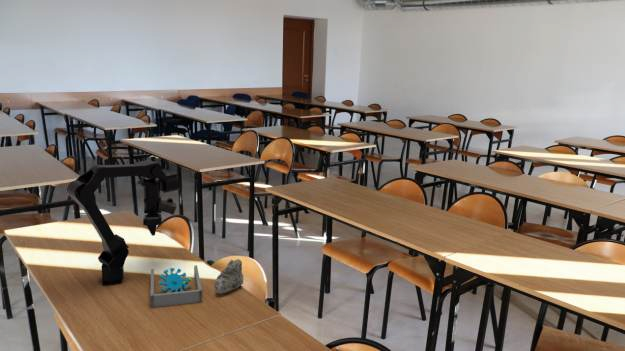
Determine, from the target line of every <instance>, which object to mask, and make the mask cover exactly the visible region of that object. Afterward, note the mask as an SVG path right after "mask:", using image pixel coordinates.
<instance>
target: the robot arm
mask: <svg viewBox="0 0 625 351" xmlns="http://www.w3.org/2000/svg"><path fill="white" fill-rule="evenodd" d="M122 177H123V178H125V177H140V179H139V180H138V181H137V185H140V186H143V189H142V190H143V213H144V216H142V217H143V218H142V222H143V224H142V225H143V226H146V227H147V229H148V231H149V233H150V235H151V236H156V232H157V231H156V230H157V227H158V226H161V225H162V224H163V223H162V222H163V221H162V220H163V217H162V213H168V214H169V215H175V212H176V209H177V208H178V205H177V204H176V202H174V199H173V197H172V198H171V197H168V198H167V199H162V196H161V192H162V193H164V194H166V193H171V192H177V191H179V190H180V189H181V185H182V184H181V182H180V179H179V177H178V174H177V173H175V172H171V173H168V174H166V173H165V172H164V171H163V167H162V165H161V164H160V163H158V162H157V161H152V160H150V159H147V160H141V161H138V162H136V163H130V164H126V163H125V164H105V165H103V164H101V165H100V164H95V165H93V166H92V167H90V168H89V170H87V171H85V172H84V173H82V174H81V175H79V176H78V177H77V178H76V179H75V180H72V181H70V182H69V183H68V184H67V188H66V192H67V195H69V196H70V198H71V199H73V201H74V202H76V204H77V205H78V206H79V207H81V208H82V209H83V211H84V213H85V215H86V217H87V218H88V220H89V221H90V223H91V225H92V226H93V228H94V230H95V232H96V233H97V235H98V236H99V238H100V239H101V246H102V249H103V250H102V252H101V253H100V254H99V256H98V257H97V260H98V261H99V263H100V264H101V268H100V269H101V279H102V280H101V285H102V286H106V285H107V286H108V285H117V284H122V283H123V280H124V278H125V271H124V269H125V268H124V266H125V262H126V259H127V257H128V255H129V253H130V252H129V248H130V246H128V245H127V242H126V241H125V238H124V237H122V236H120V235H118V234H116V233H114V232H113V230H112V228H111V227H110V225H109V223H108V222H107V220H106V219H105V217H104V215H103V213H102V212H101V210H100V208H99V206H98V205H97V198H96V195H95V194H96V193H95V192H96V191H97V190H98V189H99V187H100V186H101V183H102V182H103V181H104V179H106V178H122Z"/></svg>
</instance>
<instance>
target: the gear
mask: <svg viewBox="0 0 625 351" xmlns="http://www.w3.org/2000/svg"><path fill="white" fill-rule="evenodd" d="M169 271H170V274H169ZM174 271H175V267H171V268H169V270H168V269H165V270H164V271H163V273H164V274H163V273H162V274H160V276H159V279H161V280H159V281H158V285H159V286H162V287H161V288H160V289H161V291H162V292H165V291H166V290H168V291H167V292H166V293H172V292H173V291H174V292H178V290H179V292H182V291H185V290H187V289H188V288H189V285H188V284H189V282H191V281H192V277H188V278H186V276H187V274H186V272H183V273H182V274H180V273H181V272H182V269H181V268H177V270H176V272H174ZM165 276H166V277H165ZM182 287H183V288H182Z"/></svg>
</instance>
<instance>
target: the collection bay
mask: <svg viewBox="0 0 625 351" xmlns="http://www.w3.org/2000/svg"><path fill="white" fill-rule="evenodd" d="M193 267H194V268H193V274H194V275H193V276H194V281H195V288H196V290H195V289H194V290H184V291H182V292H180V291H177V292H175V291H174V292H173V291H172V292H171V293H167V292H163V293H155V269H154V268H151V269H150V291H149V292H150V296H149V297H150V308H158V307H168V306H170V307H171V306H178V305H188V304H195V303H203V289H202V283H201V279H200V274H199V269H198V265H197V264H196V265H194V266H193Z"/></svg>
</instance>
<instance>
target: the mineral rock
mask: <svg viewBox="0 0 625 351" xmlns="http://www.w3.org/2000/svg"><path fill="white" fill-rule="evenodd" d="M226 264H227V265H226V267H225V268H224V269H223V270H222V271H221V272H220V273H219V275H218V276H217V277H216V279H215V281H214V288H215V292H216V294H225V293H228V292H229V293H230V292H232V291H233V290H236V289H238V288H239V287H241V286H242V285H243V284H244V274H243V271H242V269H243V262H242V260H241V259H239V258H237V259H235V260H233V259H230V260H229V262H228V263H226Z"/></svg>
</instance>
